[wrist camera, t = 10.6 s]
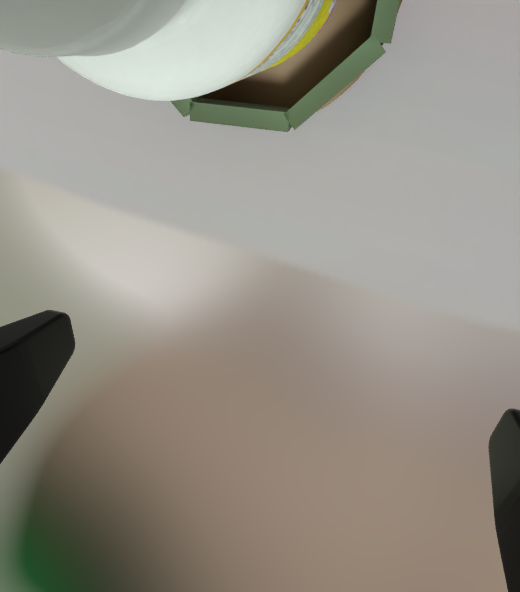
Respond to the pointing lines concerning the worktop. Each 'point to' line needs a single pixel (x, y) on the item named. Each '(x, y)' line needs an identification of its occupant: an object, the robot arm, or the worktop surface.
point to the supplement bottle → (163, 40)
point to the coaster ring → (303, 72)
